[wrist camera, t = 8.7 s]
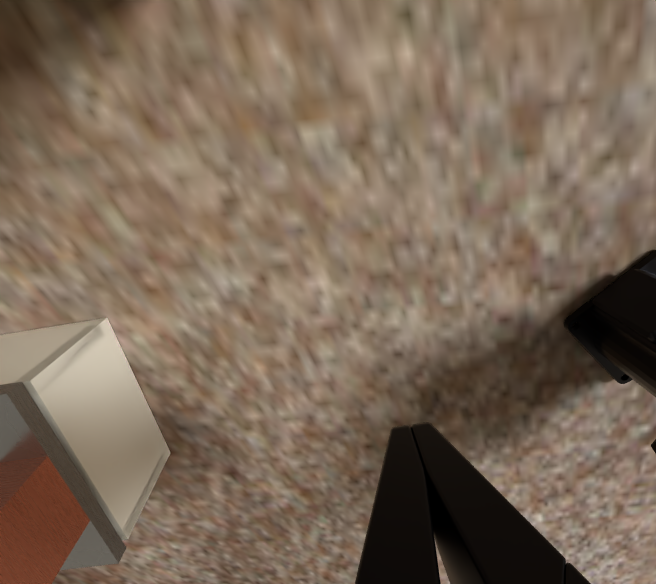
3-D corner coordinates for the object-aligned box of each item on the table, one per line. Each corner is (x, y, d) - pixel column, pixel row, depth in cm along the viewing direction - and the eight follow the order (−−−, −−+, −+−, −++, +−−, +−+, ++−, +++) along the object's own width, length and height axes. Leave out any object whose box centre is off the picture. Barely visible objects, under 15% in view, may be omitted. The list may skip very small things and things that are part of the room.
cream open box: (106, 317, 21) (30, 380, 16) (170, 452, 25) (128, 539, 20) (-79, 347, 22) (-214, 418, 16) (14, 474, 26) (-69, 563, 21)
